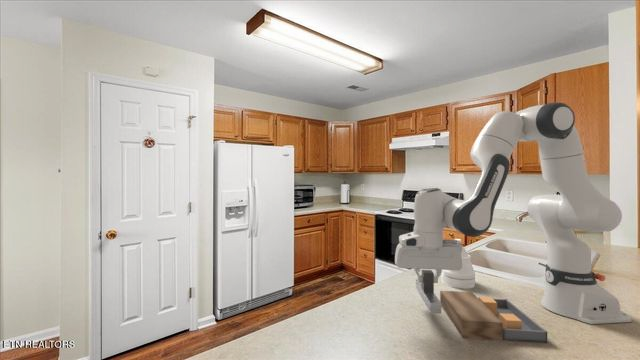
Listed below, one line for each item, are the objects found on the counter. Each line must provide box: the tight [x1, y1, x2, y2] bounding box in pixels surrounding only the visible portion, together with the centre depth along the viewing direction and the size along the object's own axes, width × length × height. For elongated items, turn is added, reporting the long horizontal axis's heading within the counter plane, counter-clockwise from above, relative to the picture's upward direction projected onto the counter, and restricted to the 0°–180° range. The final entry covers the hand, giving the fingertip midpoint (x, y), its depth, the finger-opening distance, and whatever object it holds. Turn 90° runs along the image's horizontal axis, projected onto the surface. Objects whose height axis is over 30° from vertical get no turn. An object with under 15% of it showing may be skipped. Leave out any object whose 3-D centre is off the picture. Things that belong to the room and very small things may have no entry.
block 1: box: [477, 296, 497, 315], centre depth 92 cm, size 4×4×4 cm
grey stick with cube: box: [415, 269, 442, 315], centre depth 89 cm, size 3×18×9 cm, turn 173°
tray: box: [492, 298, 548, 344], centre depth 86 cm, size 12×20×3 cm, turn 174°
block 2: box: [499, 313, 522, 330], centre depth 81 cm, size 4×4×4 cm
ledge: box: [439, 290, 504, 341], centre depth 88 cm, size 10×20×5 cm, turn 174°
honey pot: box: [441, 238, 476, 290], centre depth 118 cm, size 13×13×18 cm
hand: (427, 282), depth 89 cm, fingers closed on grey stick with cube, 3 cm apart
